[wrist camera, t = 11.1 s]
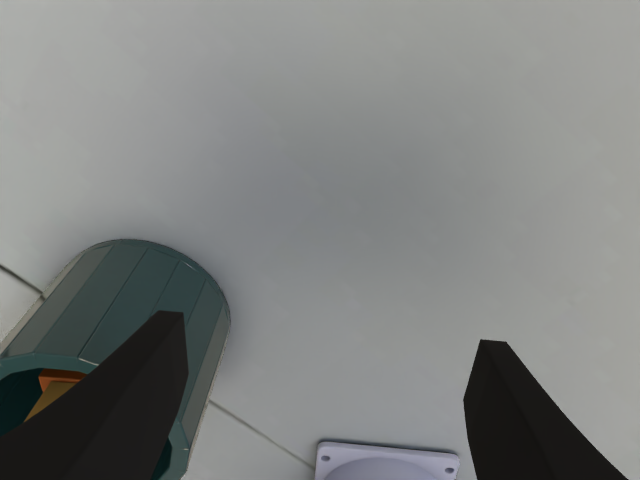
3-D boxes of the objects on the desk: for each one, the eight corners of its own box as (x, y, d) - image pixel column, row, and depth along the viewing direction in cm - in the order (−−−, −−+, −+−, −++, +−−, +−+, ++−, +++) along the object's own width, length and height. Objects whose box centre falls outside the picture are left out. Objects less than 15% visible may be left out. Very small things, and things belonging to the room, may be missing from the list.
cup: (233, 381, 28) (196, 516, 22) (76, 366, 29) (-7, 495, 22) (229, 247, 24) (181, 367, 18) (43, 231, 24) (-71, 343, 18)
